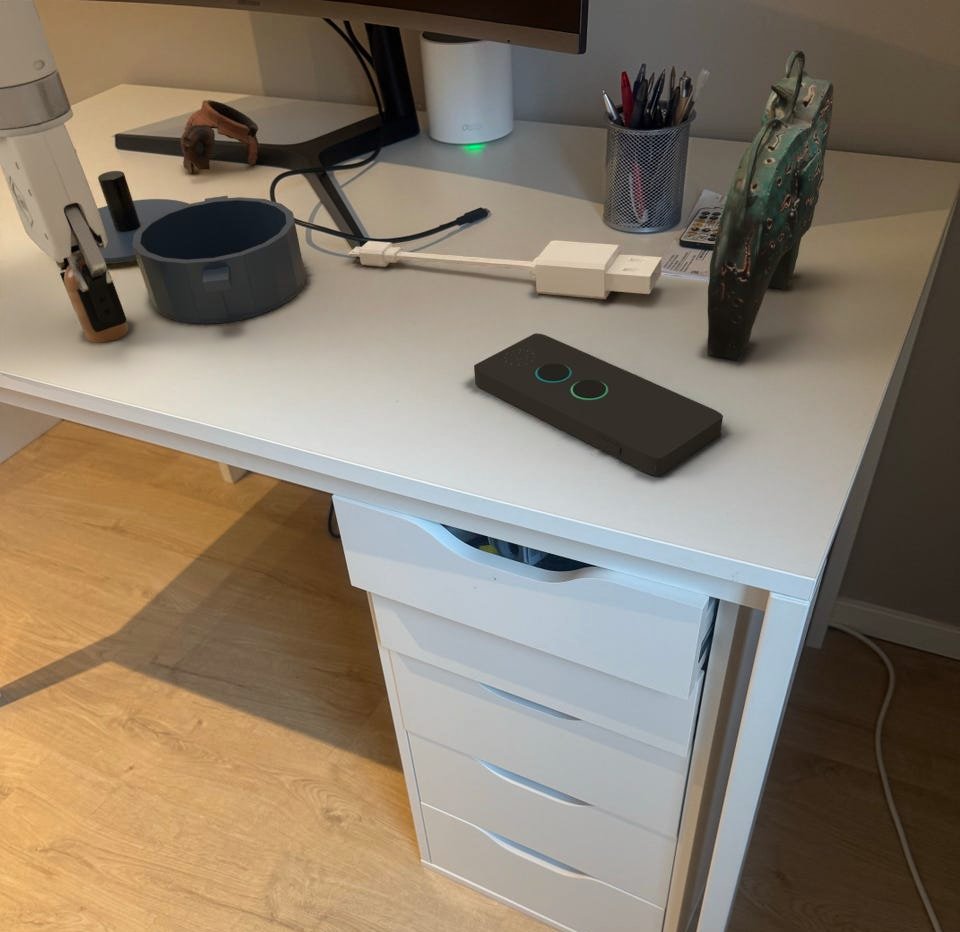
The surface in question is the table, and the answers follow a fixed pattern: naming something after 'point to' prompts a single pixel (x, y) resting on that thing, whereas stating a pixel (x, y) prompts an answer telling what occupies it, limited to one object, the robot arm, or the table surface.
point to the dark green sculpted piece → (768, 207)
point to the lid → (125, 216)
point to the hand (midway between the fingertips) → (100, 315)
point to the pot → (220, 259)
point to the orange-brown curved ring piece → (202, 135)
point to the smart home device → (599, 403)
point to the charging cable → (549, 267)
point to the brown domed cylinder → (88, 331)
